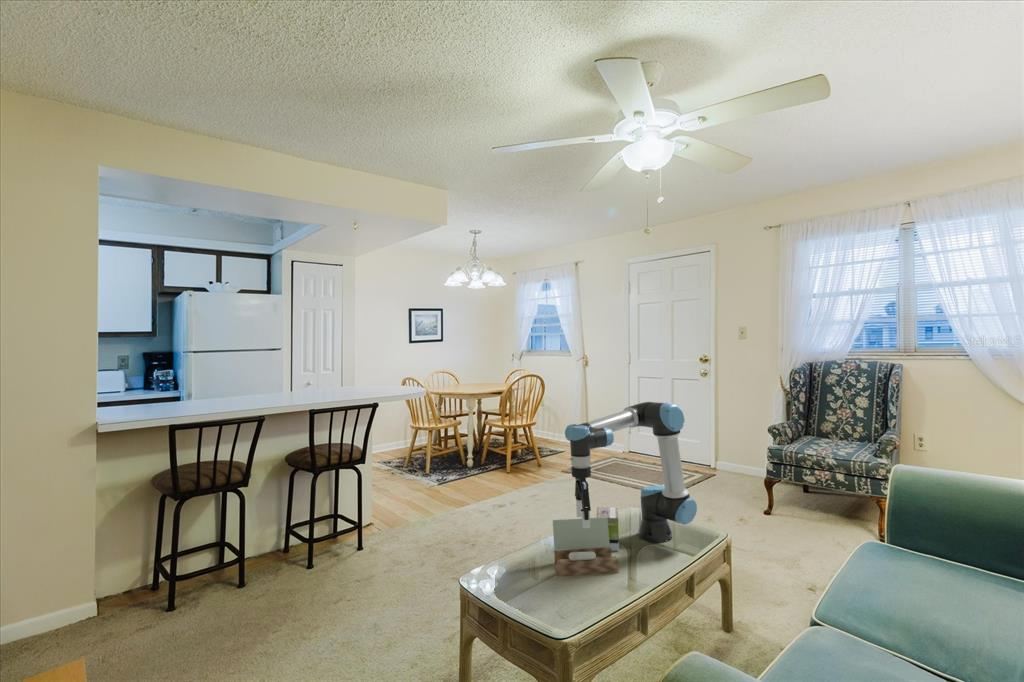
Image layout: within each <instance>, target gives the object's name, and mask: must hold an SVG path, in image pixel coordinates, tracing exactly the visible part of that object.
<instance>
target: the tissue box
mask: <svg viewBox="0 0 1024 682" xmlns="http://www.w3.org/2000/svg"><path fill="white" fill-rule="evenodd" d="M589 551H593V552H595V554H596V558H595V559H593V560H576V561H571V560H570V559H569V554H570V553H572V552H589ZM553 552H554V554H553V555H554V565H555V568H556V572H557V575H558V576H559V577H565V576H566V577H567V576H569V577H570V576H582V575H583V576H584V575H585V576H586V575H597V574H598V575H599V574H613V573H614V574H615V573H619V559H618V557H617V556H616V555H613V556H612V551H611V548H610V547H605V548H584V549H567V550H553Z"/></svg>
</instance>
